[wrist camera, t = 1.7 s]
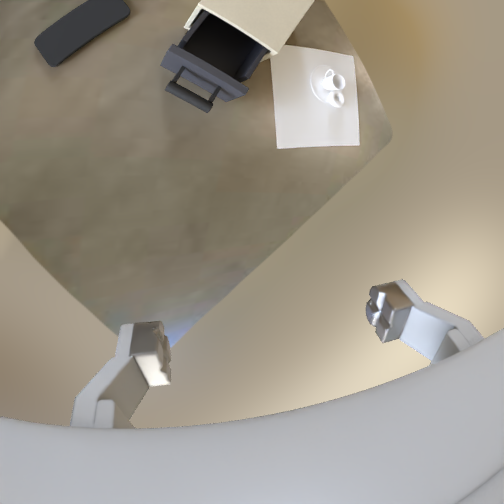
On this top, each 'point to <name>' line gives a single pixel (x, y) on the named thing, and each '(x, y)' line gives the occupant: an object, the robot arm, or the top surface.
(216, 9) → the cabinet
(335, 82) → the teacup and saucer
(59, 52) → the phone
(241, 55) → the drawer
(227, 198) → the top surface
